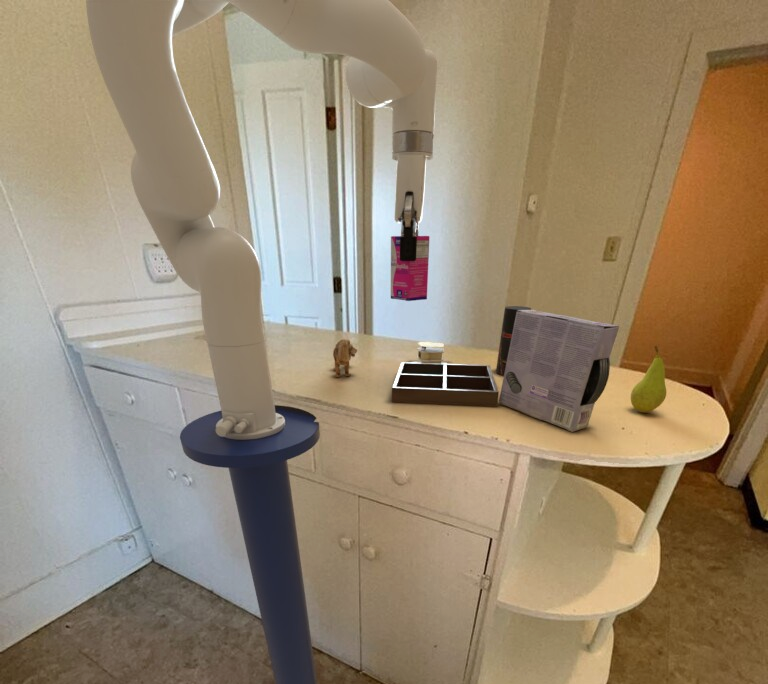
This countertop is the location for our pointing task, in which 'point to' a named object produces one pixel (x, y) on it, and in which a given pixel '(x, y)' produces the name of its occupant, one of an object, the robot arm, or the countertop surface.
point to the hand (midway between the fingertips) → (409, 259)
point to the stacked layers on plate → (430, 353)
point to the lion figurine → (343, 355)
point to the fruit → (650, 387)
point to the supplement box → (409, 271)
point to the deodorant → (507, 336)
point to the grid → (445, 384)
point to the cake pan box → (557, 367)
